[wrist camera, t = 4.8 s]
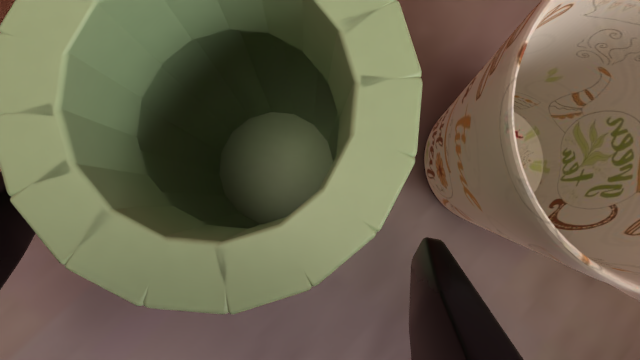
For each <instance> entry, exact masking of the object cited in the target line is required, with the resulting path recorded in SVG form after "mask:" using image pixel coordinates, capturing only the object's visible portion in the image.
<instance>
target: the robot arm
mask: <svg viewBox="0 0 640 360" xmlns="http://www.w3.org/2000/svg"><path fill="white" fill-rule="evenodd" d="M10 199H11V196H9V194H8V193H7V190H6V187H5V183H4V179H3V176H2V172H0V289H1V288H2V287H3V285H4V284H5V282H6V281H7V279H8V278H9V276H10V275H11V273H12V272H13V270H14V269H15V268H16V266H17V265H18V263H19V261H20V260H21V258H22V257H23V255H24V253H25V252H26V250H27V248H28V246H29V244H30V243H31V241H32V239H33V237H34V235H35V232H34V230H33V229H32V228H31V227H30V225H29V224H28V223H27V222H26V220H25V219H24V218H23V217H22V215H21V214H20V213H19V212H18V210H17V209H16V208H15V207H14V205H13V204H12V203H11V201H10ZM409 334H410V347H411V360H523V358H522V357H521V355H520V354H519V352H518V351H517V349H516V348H515V346H514V345H513V344H512V342H511V341H510V339H509V338H508V336H507V335H506V333H505V332H504V330H503V329H502V327H501V326H500V324H499V323H498V322H497V320H496V319H495V317H494V316H493V314H492V313H491V311H490V310H489V308H488V307H487V305H486V304H485V303H484V301H483V300H482V298H481V297H480V295H479V294H478V292H477V291H476V289H475V288H474V286H473V285H472V283H471V282H470V281H469V279H468V278H467V276H466V275H465V273H464V272H463V270H462V269H461V267H460V266H459V264H458V263H457V261H456V260H455V259H454V257H453V256H452V254H451V253H450V251H449V250H448V248H447V247H446V245H445V244H444V243H443V242H442V241H441V240H438V239H433V238H424V239H423V240H422V242H421V243H420V245H419V247H418V249H417V251H416V253H415V255H414V257H413V259H412V264H411V283H410V309H409Z"/></svg>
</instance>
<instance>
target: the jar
mask: <svg viewBox="0 0 640 360" xmlns="http://www.w3.org/2000/svg"><path fill="white" fill-rule="evenodd" d="M0 32H1V33H0V168H1V172H2V176H3V179H4V183H5V187H6V190H7V193H8V194H9V196H11V199H10V201H11V203H12V204H13V205H14V207H15V208H16V209H17V210H18V212H19V213H20V214H21V215H22V217H23V218H24V219H25V220H26V222H27V223H28V224H29V225H30V227H31V228H32V229H33V230H34V232H35V233H36V234H37V235H38V237H39V238H40V239H41V240H42V241H43V243H44V244H45V245H46V246H47V248H48V249H49V250H50V251H51V253H52V254H53V255H54V256H55V258H56V259H57V260H58V261H59V263H61V264H63V265H65V268H66V269H68V270H70V271H72V272H74V273H76V274H78V275H80V276H81V277H83V278H85V279H87V280H89V281H91V282H93V283H95V284H97V285H98V286H100V287H102V288H104V289H106V290H108V291H110V292H112V293H114V294H116V295H117V296H119V297H121V298H123V299H125V300H127V301H129V302H131V303H133V304H135V305H136V306H142V305H144V306H145V307H148V308H154V309H165V310H177V311H189V312H200V313H212V314H226V313H228V312H229V313H230V314H236V313H240V312H243V311H246V310H249V309H252V308H255V307H258V306H261V305H265V304H268V303H271V302H274V301H277V300H280V299H283V298H287V297H290V296H293V295H296V294H299V293H302V292H305V291H308V290H310V289H311V286H313V287H314V286H317V285H318V284H319V283H321V282H322V281H323V280H324V279H325V278H326V277H328V276H329V275H330V274H331V273H332V272H334V271H335V270H336V269H337V268H338V267H339V266H341V265H342V264H343V263H344V262H345V261H347V260H348V259H349V258H350V257H351V256H353V255H354V254H355V253H356V252H357V251H358V250H360V249H361V248H362V247H363V246H364V245H366V244H367V243H368V242H369V241H370V240H371V239H373V238H374V237H375V235H376V232H378V231H380V230H381V228H382V226H383V224H384V222H385V220H386V218H387V216H388V215H389V213H390V211H391V209H392V207H393V205H394V203H395V201H396V199H397V197H398V195H399V193H400V191H401V189H402V187H403V185H404V183H405V181H406V180H407V178H408V176H409V174H410V172H411V170H412V168H413V166H414V164H415V158H414V157H415V156H416V154H417V147H418V135H419V123H420V110H421V98H422V86H423V83H422V79H421V78H420V77H421V75H422V71H421V68H420V65H419V62H418V58H417V55H416V52H415V49H414V46H413V43H412V40H411V37H410V34H409V31H408V27H407V24H406V21H405V18H404V15H403V12H402V9H401V6H400V3H399V2H398V1H396V0H15V2H14V3H13V5H12V7H11V8H10V10H9V12H8V13H7V15H6V16H5V18H4V20H3V21H2V23H1V25H0Z"/></svg>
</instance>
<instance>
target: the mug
mask: <svg viewBox="0 0 640 360" xmlns="http://www.w3.org/2000/svg"><path fill="white" fill-rule="evenodd" d="M424 165H425V172H426V176H427V179H428V182H429V185H430V187H431V189H432V191H433V193H434V194H435V196H436V197H437V198H438V200H439V201H440V202H441V203H442V204H443V205H444V206H445V207H446V208H447V209H448V210H450V211H451V212H452V213H454V214H455V215H457V216H459V217H461V218H462V219H464V220H467V221H469V222H471V223H473V224H475V225H478V226H480V227H482V228H484V229H486V230H489V231H491V232H493V233H495V234H497V235H500V236H502V237H504V238H506V239H508V240H511V241H513V242H515V243H517V244H520V245H522V246H524V247H526V248H528V249H531V250H533V251H535V252H537V253H539V254H542V255H544V256H546V257H548V258H550V259H553V260H555V261H557V262H559V263H562V264H564V265H566V266H568V267H570V268H573V269H575V270H577V271H579V272H581V273H584V274H586V275H588V276H590V277H593V278H595V279H598V280H600V281H603V282H605V283H608V284H610V285H611V286H613V287H615V288H617V289H618V290H620V291H622V292H624V293H625V294H627V295H629V296H631V297H633V298H634V299H636V300H638V301H640V0H542V1H541V2H540V3H539V4H538V5H537V6H536V7H535V8H534V9H533V10H532V11H531V12H530V14H529V15H528V16H527V17H526V18H525V19H524V20H523V22H522V23H521V24H520V25H519V26H518V27H517V29H516V30H515V31H514V32H513V33H512V34H511V36H510V37H509V38H508V39H507V40H506V41H505V43H504V44H503V45H502V46H501V47H500V48H499V50H498V51H497V52H496V53H495V54H494V55H493V57H492V58H491V59H490V60H489V61H488V62H487V64H486V65H485V66H484V67H483V68H482V69H481V71H480V72H479V73H478V74H477V75H476V76H475V78H474V79H473V80H472V81H471V82H470V83H469V85H468V86H467V87H466V88H465V89H464V90H463V92H462V93H461V94H460V95H459V96H458V97H457V99H456V100H455V101H454V102H453V103H452V104H451V106H450V107H449V108H448V109H447V110H446V111H445V113H444V114H443V115H442V116H441V117H440V119H439V120H438V121H437V122H436V124H435V125H434V127H433V129H432V131H431V133H430V135H429V137H428V140H427V143H426V148H425V155H424Z"/></svg>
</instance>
